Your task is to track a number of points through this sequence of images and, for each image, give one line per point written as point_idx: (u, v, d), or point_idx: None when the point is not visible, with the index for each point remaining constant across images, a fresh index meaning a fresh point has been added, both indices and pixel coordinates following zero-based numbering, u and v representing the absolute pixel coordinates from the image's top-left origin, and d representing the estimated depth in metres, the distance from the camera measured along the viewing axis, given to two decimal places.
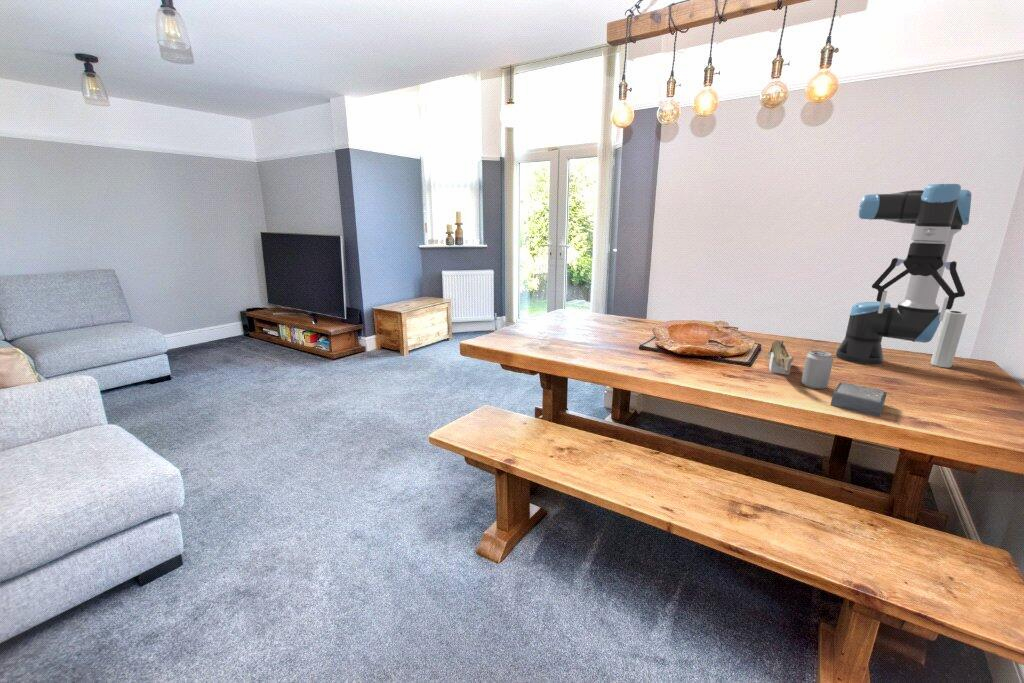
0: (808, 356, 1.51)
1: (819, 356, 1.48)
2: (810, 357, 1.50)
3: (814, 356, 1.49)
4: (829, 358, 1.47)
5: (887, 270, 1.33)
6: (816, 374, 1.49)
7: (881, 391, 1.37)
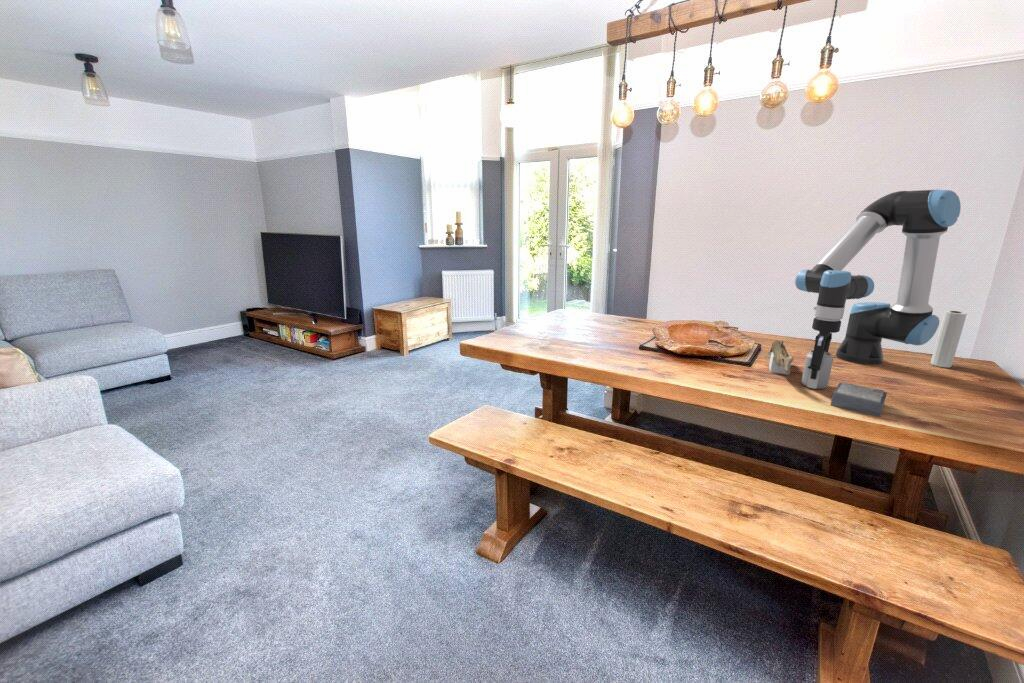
0: (808, 356, 1.51)
1: None
2: (810, 357, 1.50)
3: None
4: (829, 358, 1.47)
5: None
6: None
7: (881, 391, 1.37)
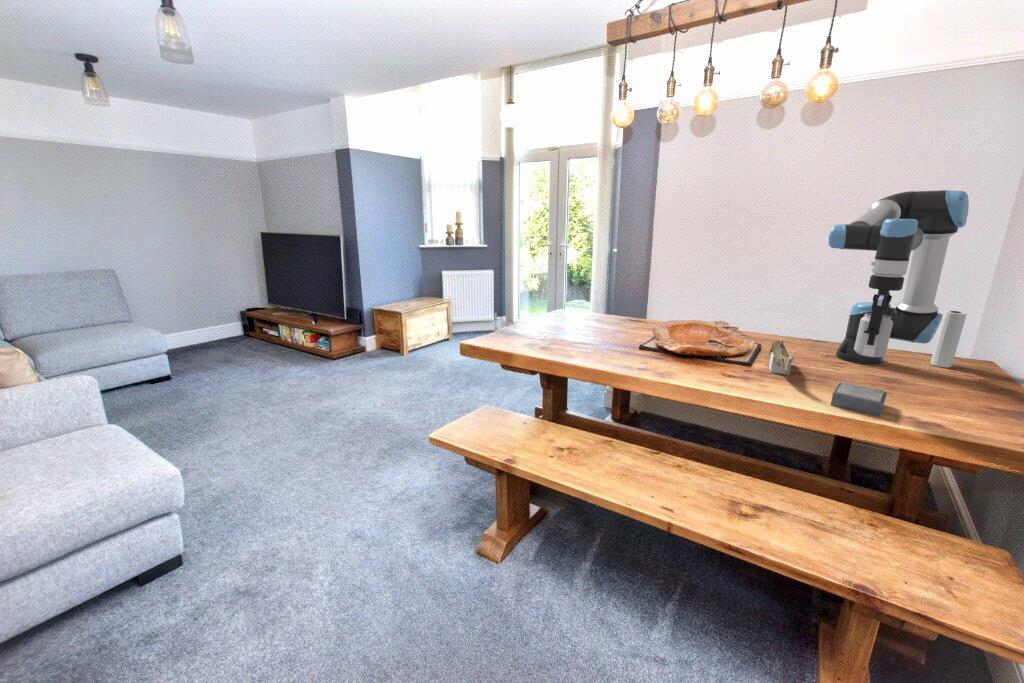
0: (863, 319, 1.32)
1: None
2: (866, 320, 1.31)
3: None
4: (889, 321, 1.28)
5: None
6: None
7: (881, 391, 1.37)
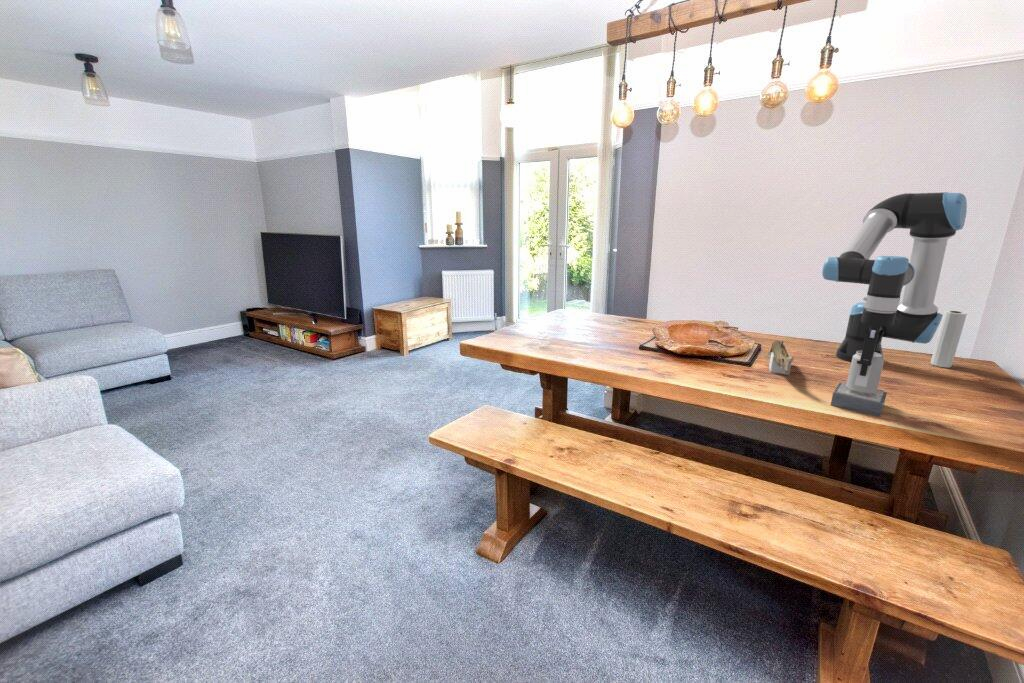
0: (855, 357, 1.35)
1: None
2: (858, 358, 1.34)
3: None
4: (880, 359, 1.31)
5: None
6: None
7: (881, 391, 1.37)
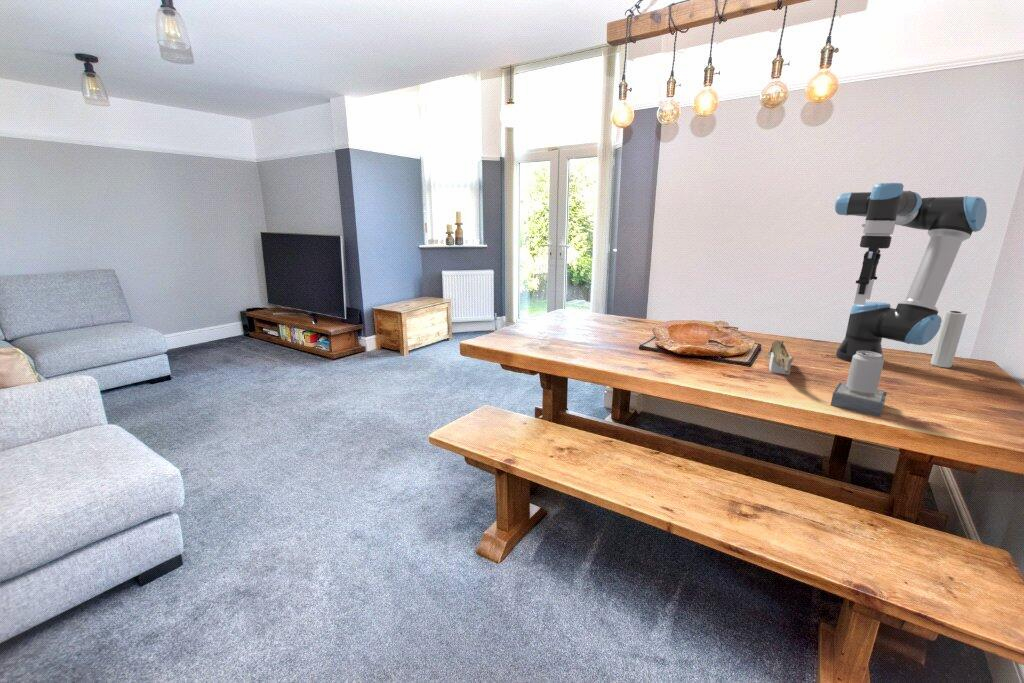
0: (855, 357, 1.35)
1: (869, 357, 1.32)
2: (858, 358, 1.34)
3: (863, 357, 1.33)
4: (880, 359, 1.31)
5: None
6: (864, 377, 1.33)
7: (881, 391, 1.37)
